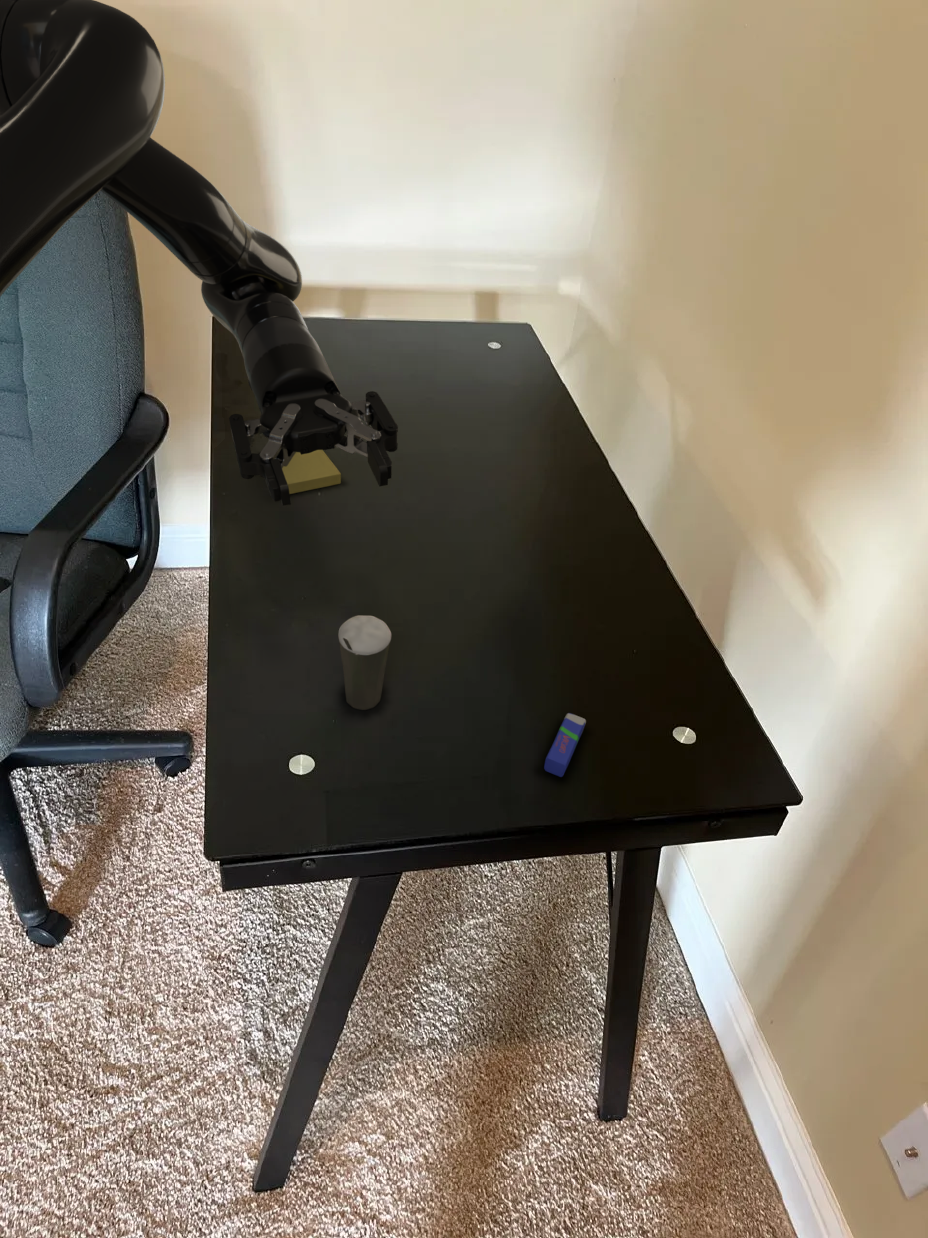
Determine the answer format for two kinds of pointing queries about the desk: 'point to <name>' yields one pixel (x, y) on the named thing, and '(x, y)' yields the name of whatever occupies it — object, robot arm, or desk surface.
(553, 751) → the eraser
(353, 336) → the desk surface
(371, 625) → the milkshake
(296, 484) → the note pad
